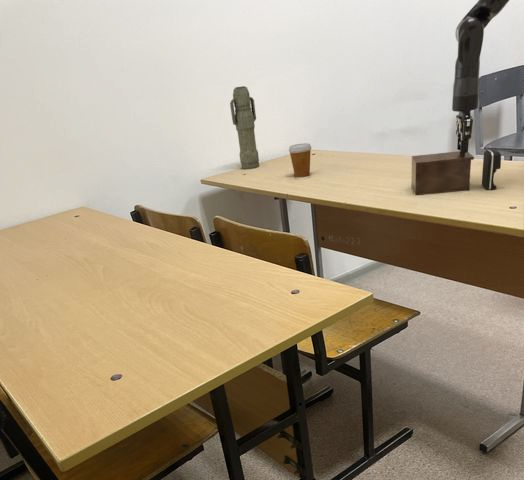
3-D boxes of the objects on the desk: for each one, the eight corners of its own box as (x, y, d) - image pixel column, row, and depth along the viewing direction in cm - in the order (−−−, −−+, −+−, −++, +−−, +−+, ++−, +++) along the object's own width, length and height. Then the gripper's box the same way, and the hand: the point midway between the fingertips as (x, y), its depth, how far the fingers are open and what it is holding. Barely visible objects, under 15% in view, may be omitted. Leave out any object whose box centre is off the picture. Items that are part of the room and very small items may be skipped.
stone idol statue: (265, 165, 255) (256, 84, 238) (246, 170, 249) (235, 88, 232) (254, 164, 261) (244, 85, 244) (235, 169, 255) (224, 89, 238)
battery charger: (499, 189, 167) (503, 151, 162) (487, 190, 168) (490, 153, 162) (493, 184, 173) (496, 147, 168) (480, 185, 174) (483, 149, 168)
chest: (462, 182, 181) (463, 153, 176) (469, 190, 171) (471, 160, 166) (411, 186, 184) (411, 158, 179) (415, 195, 174) (415, 165, 169)
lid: (466, 153, 176) (467, 137, 174) (473, 159, 166) (474, 142, 164) (411, 158, 179) (411, 143, 177) (415, 165, 169) (416, 148, 167)
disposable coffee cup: (301, 172, 230) (299, 143, 224) (318, 173, 223) (316, 143, 217) (286, 177, 224) (283, 147, 218) (303, 178, 218) (300, 147, 212)
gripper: (483, 93, 156) (479, 153, 164) (473, 90, 168) (470, 146, 176) (457, 96, 157) (454, 156, 165) (448, 93, 169) (446, 148, 178)
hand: (462, 150), depth 171 cm, fingers closed on lid, 5 cm apart
